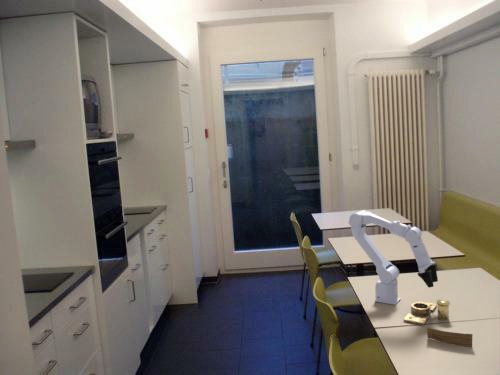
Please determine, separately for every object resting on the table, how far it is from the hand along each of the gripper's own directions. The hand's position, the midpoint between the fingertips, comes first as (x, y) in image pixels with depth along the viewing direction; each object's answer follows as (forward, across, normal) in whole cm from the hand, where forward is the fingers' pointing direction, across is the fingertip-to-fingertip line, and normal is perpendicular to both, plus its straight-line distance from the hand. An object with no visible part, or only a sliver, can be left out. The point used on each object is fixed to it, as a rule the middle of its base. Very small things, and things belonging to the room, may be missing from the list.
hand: (433, 284), depth 202 cm
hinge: (+9, -7, +7) cm, 14 cm away
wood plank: (+16, -29, -7) cm, 34 cm away
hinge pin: (+13, -7, -1) cm, 14 cm away
